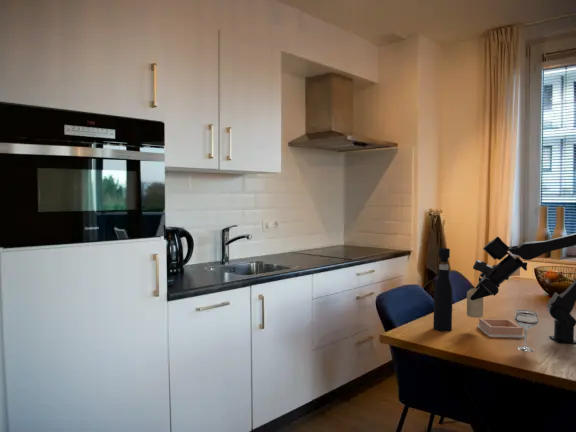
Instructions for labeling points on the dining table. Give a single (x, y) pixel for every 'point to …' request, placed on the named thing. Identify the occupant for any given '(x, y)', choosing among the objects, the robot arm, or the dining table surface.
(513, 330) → the pink square tray
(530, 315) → the wineglass
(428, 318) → the dining table surface
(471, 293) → the candle
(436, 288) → the wine bottle
